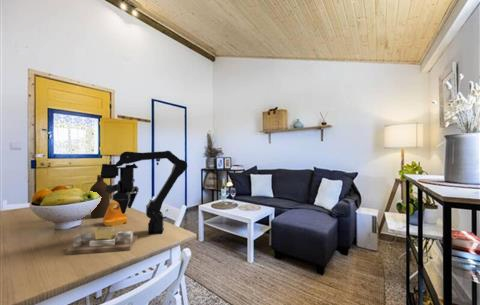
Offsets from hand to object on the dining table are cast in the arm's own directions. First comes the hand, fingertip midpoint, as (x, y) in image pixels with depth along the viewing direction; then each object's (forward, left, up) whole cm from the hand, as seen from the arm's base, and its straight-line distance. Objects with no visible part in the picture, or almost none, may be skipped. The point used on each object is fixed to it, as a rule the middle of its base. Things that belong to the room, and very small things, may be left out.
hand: (126, 210), depth 104 cm
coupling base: (+5, +10, -12) cm, 17 cm away
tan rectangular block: (+5, +10, -10) cm, 15 cm away
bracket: (+11, -19, -12) cm, 25 cm away
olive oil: (+25, -35, -12) cm, 45 cm away
